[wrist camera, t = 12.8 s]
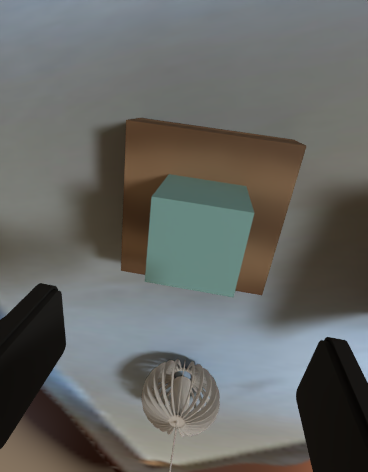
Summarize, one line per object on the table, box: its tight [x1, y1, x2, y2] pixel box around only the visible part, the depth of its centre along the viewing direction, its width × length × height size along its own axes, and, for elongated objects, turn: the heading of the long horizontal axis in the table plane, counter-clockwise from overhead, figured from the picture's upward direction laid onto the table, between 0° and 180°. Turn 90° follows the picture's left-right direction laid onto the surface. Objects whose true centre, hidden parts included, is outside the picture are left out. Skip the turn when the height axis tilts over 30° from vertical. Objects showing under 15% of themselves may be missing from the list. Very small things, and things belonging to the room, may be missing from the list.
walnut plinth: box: [121, 118, 306, 295], centre depth 25 cm, size 13×13×4 cm
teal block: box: [145, 174, 254, 297], centre depth 20 cm, size 6×6×6 cm
